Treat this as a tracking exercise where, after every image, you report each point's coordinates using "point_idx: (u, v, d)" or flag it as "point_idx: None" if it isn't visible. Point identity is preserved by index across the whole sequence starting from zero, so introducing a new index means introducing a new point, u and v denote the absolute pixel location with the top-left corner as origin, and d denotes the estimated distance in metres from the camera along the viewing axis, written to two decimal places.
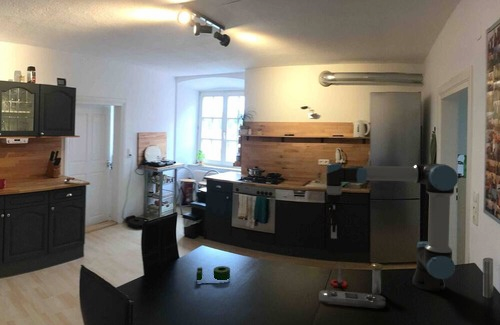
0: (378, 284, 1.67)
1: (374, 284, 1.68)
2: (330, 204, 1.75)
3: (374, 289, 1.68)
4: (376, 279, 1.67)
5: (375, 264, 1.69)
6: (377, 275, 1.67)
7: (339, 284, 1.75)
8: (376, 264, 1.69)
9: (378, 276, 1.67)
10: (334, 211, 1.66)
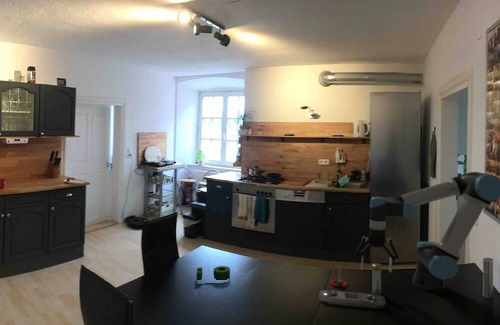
0: (378, 284, 1.67)
1: (374, 284, 1.68)
2: None
3: (374, 289, 1.68)
4: (376, 279, 1.67)
5: (375, 264, 1.69)
6: (377, 275, 1.67)
7: (339, 284, 1.75)
8: (376, 264, 1.69)
9: (378, 276, 1.67)
10: (361, 242, 1.69)
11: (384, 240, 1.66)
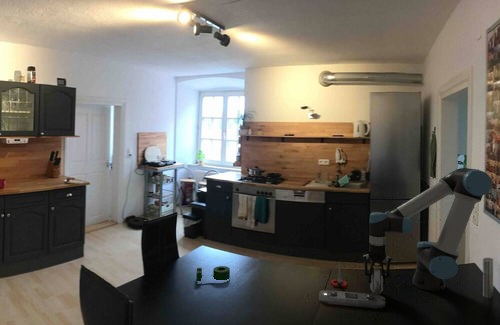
0: (378, 284, 1.67)
1: (374, 284, 1.68)
2: None
3: (374, 289, 1.68)
4: (376, 279, 1.67)
5: (375, 264, 1.69)
6: (377, 275, 1.67)
7: (339, 284, 1.75)
8: (376, 264, 1.69)
9: (378, 276, 1.67)
10: (364, 261, 1.70)
11: (384, 256, 1.66)
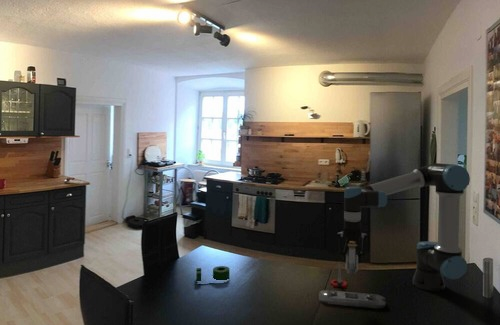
0: (353, 263, 1.57)
1: (349, 263, 1.57)
2: None
3: (349, 268, 1.57)
4: (351, 258, 1.56)
5: (350, 242, 1.59)
6: (352, 253, 1.56)
7: (339, 284, 1.75)
8: (351, 242, 1.59)
9: (353, 254, 1.56)
10: (339, 239, 1.59)
11: (359, 233, 1.56)
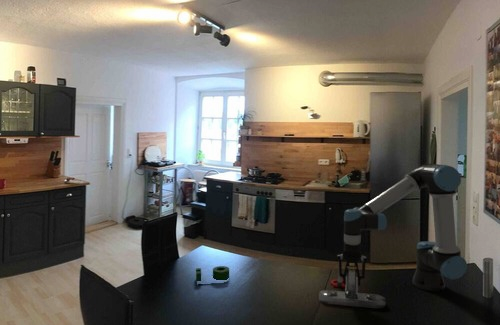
0: (353, 286, 1.57)
1: (349, 285, 1.58)
2: None
3: (349, 291, 1.58)
4: (351, 280, 1.57)
5: (350, 264, 1.59)
6: (352, 276, 1.57)
7: (339, 284, 1.75)
8: (351, 264, 1.59)
9: (353, 277, 1.57)
10: None
11: (359, 256, 1.56)
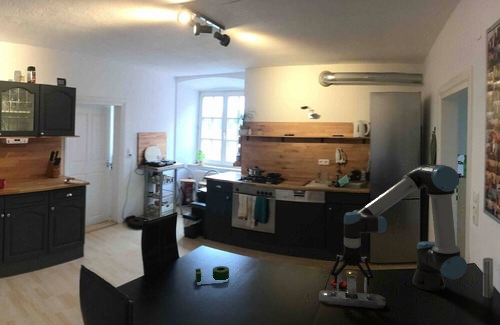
0: (353, 293, 1.57)
1: (349, 293, 1.58)
2: None
3: None
4: (351, 288, 1.57)
5: (350, 271, 1.59)
6: (352, 283, 1.57)
7: (339, 284, 1.75)
8: (351, 271, 1.59)
9: (353, 284, 1.57)
10: None
11: (359, 258, 1.57)
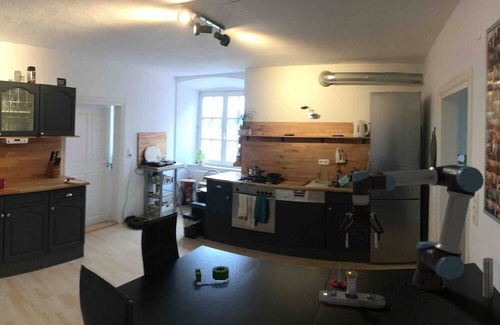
0: (353, 293, 1.57)
1: (349, 293, 1.58)
2: None
3: None
4: (351, 288, 1.57)
5: (350, 271, 1.59)
6: (352, 283, 1.57)
7: (339, 284, 1.75)
8: (351, 271, 1.59)
9: (353, 284, 1.57)
10: (345, 219, 1.63)
11: (368, 215, 1.60)
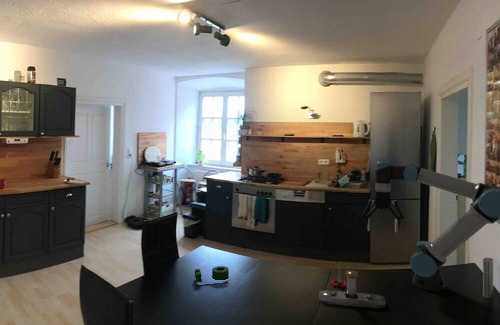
0: (353, 293, 1.57)
1: (349, 293, 1.58)
2: None
3: None
4: (351, 288, 1.57)
5: (350, 271, 1.60)
6: (352, 283, 1.57)
7: (339, 284, 1.75)
8: (351, 271, 1.59)
9: (353, 284, 1.57)
10: (367, 205, 1.78)
11: (389, 202, 1.75)
